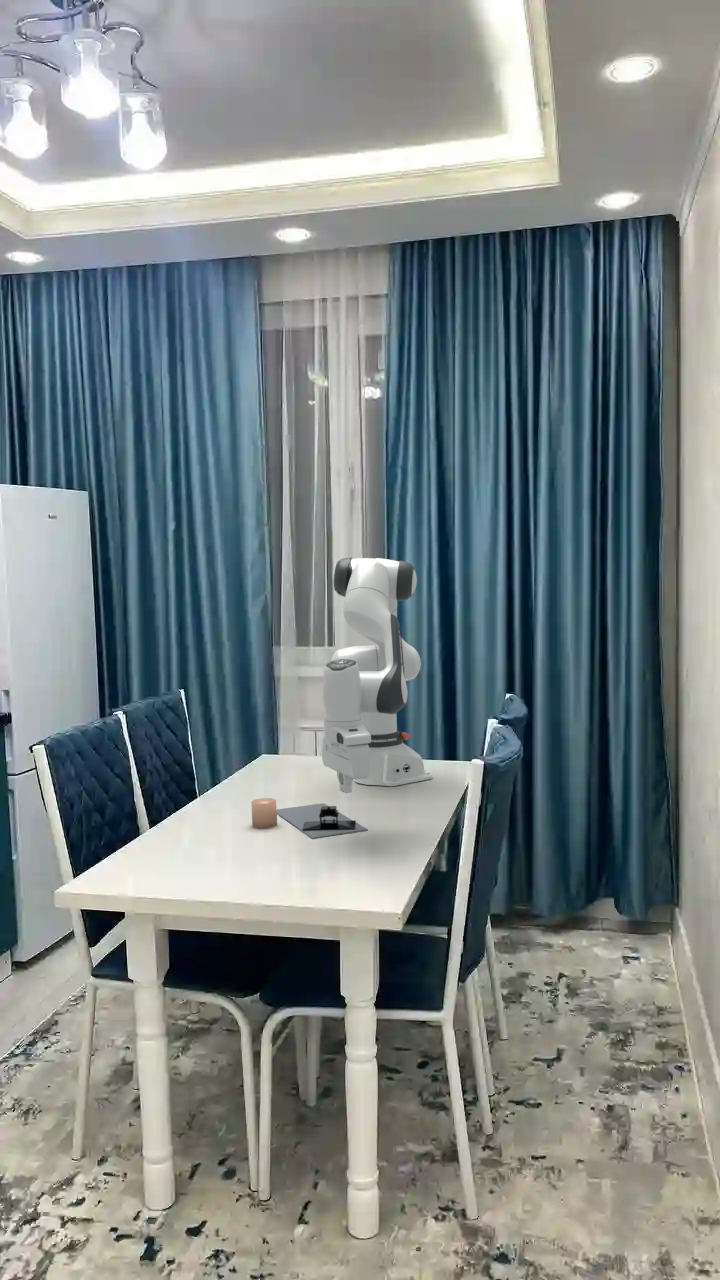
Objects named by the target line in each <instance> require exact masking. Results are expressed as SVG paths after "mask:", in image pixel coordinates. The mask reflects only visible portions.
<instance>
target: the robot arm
mask: <svg viewBox="0 0 720 1280" xmlns="http://www.w3.org/2000/svg"><path fill="white" fill-rule="evenodd" d="M332 571H333V572H332V585H333V589H334V592H336V593H337V594H338V595H339V596H341V597H344V600H343V601H344V602H343V617H344V619H345V622H346V624H347V625H348V626H349V627H350V628H351V629H352V630H353V631H355V632H356V633H357V634H359V635H361V637H362V638H364V639H365V640H367V641H368V642H372V643H374V645H373V644H372V645H354V646H353V645H352V646H348V647H343V648H339V649H337V650H336V651H335V652H334V653H333V655H332V657H331V660H330V661H329V662H328V663H326V665H325V666H324V671H323V680H322V681H323V682H322V701H323V704H324V710H325V711H324V715H323V733H324V735H323V738H322V746H321V747H322V750H321V752H322V754H321V759H322V764H323V766H324V767H327V768H329V769H330V770H333V771H335V772H336V777H337V780H338V784H339V791H341V792H343V793H344V794H350V793H352V789H353V782H355V783H358V784H361V785H367V786H368V785H369V786H383V787H395V786H401V785H406V784H412V783H417V782H421V781H422V782H423V781H428V780H432V779H433V773H432V772H430V771H428V770H427V769H425V766H424V765H425V764H424V760H423V758H422V755H420V754H419V753H418V752H417V751H415V750H413V749H412V748H411V747H409V746H408V745H406V744H405V743H404V741H407V740H409V739H410V734H409V733H407V732H405V731H403V732H402V731H399V730H398V727H397V726H398V724H397V721H398V720H397V719H398V718H397V713H398V712H400V710H402V709H403V708H404V707H405V706H406V705H407V702H408V701H407V700H408V694H409V693H408V685H407V681H412V680H414V679H415V678H417V676H418V674H419V672H420V670H421V667H422V666H421V665H422V662H421V657H420V654H419V652H418V651H417V650H416V648H415V647H413V646H412V645H411V644H408V643H407V642H406V641H405V640H404V639H403V637H402V631H401V626H400V622H399V620H398V602H403V601H407V600H409V599H410V598H412V596H413V594H414V592H415V590H416V588H417V585H418V580H417V579H418V576H417V572H416V569H415V567H414V565H412V564H411V562H408V561H404V560H399V561H398V560H394V559H389V558H388V559H387V558H382V557H376V558H371V557H358V558H355V557H354V558H353V557H344V558H341V559H340V560H338V561H337V562H336V563H335V566H334V568H333V570H332Z"/></svg>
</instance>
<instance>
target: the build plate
mask: <svg viewBox="0 0 720 1280" xmlns="http://www.w3.org/2000/svg"><path fill="white" fill-rule="evenodd" d="M338 814H339V809H337V805H328V806H322V807H321V810H320V815H319V817H320V821H311V822H304V826H303V829H302V831H317V830H354V829H355V823H357V821H356V820H353V819H351V820H352V821H338ZM327 816H332V817H336V820H335V819H333V820H326V819H324V820H322V817H327ZM302 831H301V832H302Z"/></svg>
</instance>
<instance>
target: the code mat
mask: <svg viewBox="0 0 720 1280" xmlns="http://www.w3.org/2000/svg"><path fill="white" fill-rule="evenodd" d="M322 806H329V804H326V803H324V802H322V803H314V804H307V805H300V806H293V807H286V808H285V807H284V808H278V809H277V808H276V809H277V816H279V817H280V818H282V819H283V820H285V821H286V822H288V823H289V824H290V825H292V826H293V827H295V828H297V830H299V831H300V832H302V833H303V834H305V835H306V836H307V837H309V838H310V839H312V840H314V839H321V838H328V837H334V836H339V835H340V836H341V835H347V834H354V833H361V832H367V831H368V828H367V827H365V826H363V825H361V824H360V823H358V822H356V823H355V829H354V830H317V831H302V829H303V826H304V822H311V821H320V817H319V815H320V810H321V807H322ZM338 812H339V811H338ZM324 819H326V820H333V819H335V820H336V817H332V816H327V817H322V820H324ZM352 820H353V819H351V818H350V817H348V816H347V815H345V814H344V813H341V812H339V814H338V821H352Z"/></svg>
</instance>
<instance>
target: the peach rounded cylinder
mask: <svg viewBox="0 0 720 1280" xmlns="http://www.w3.org/2000/svg"><path fill="white" fill-rule="evenodd" d="M250 805H251V822H252V824H251V825H252V826H251V827H253V828H254V829H260V830H262V829H263V830H264V829H271V828H275V827H277V826H278V817H277V816H278V814H277V800H276V799H275V798H270V797H269V798H268V797H264V798H263V797H262V798H257V799H256V798H255V799H253V800H251V804H250Z"/></svg>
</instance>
